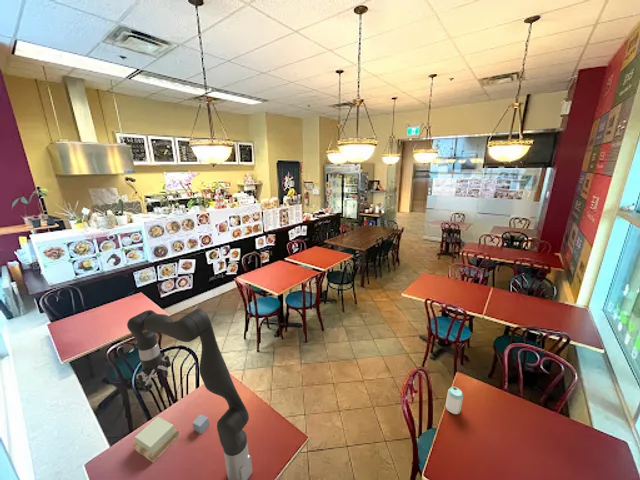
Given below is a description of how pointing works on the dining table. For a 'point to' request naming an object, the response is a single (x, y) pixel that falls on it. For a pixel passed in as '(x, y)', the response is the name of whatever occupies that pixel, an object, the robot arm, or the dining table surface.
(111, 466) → the dining table surface
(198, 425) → the slate cube
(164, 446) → the base block
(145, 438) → the top block
